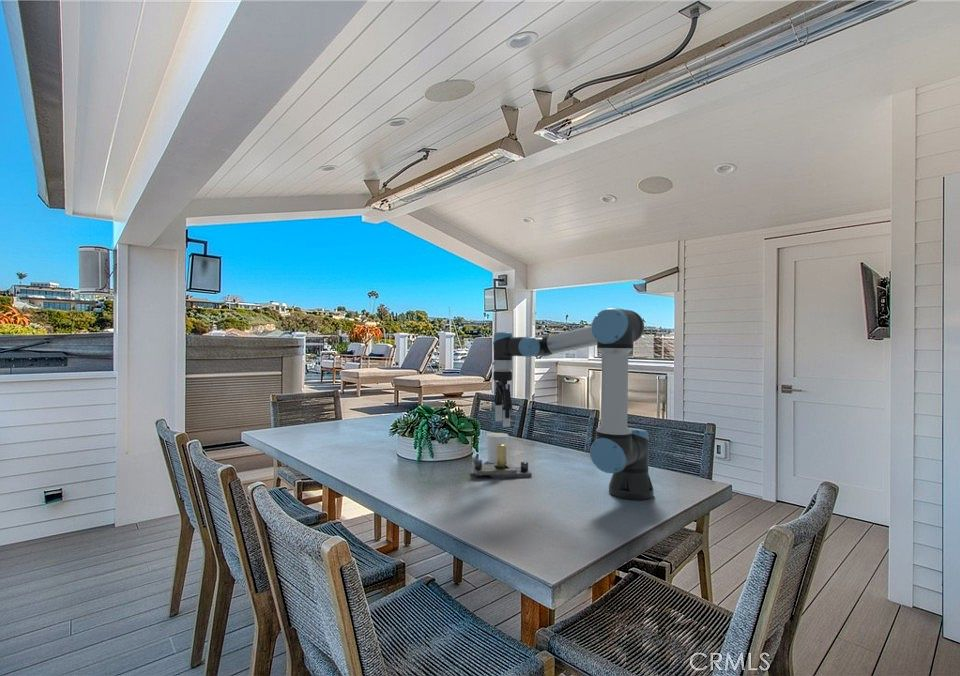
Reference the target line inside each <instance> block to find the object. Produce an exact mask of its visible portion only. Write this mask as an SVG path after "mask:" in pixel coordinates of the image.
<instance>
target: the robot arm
mask: <svg viewBox="0 0 960 676" xmlns="http://www.w3.org/2000/svg"><path fill="white" fill-rule="evenodd" d="M644 330H645V323H644V320H643V318H642V316H641V315H639V313H638V312H635V311H633V310H629V309H624V308H619V307H618V308H617V307H612V308H611V307H609V308H605V309H602V310H600V311H599V312H598V313H597V314H596V315H595V316H594V318H593V319H592V323H591V325H589V326H585V327H580V328H576V329H572V330H567V331H562V332H559V333H555V334H554V333H553V334H550V335H546V336H545V335H544V336H541V337H534V336H522V337H521V336H516V337H515V336H513V333H512V332H507V331H504V332H503V331H502V332H501V331H499V332H495V333H494V334H493V342H492V345H493V362H492V363H491V364H492V366H493V378H492V379H493V381H495V391H494V400H493V403H494V405H495V409H494V410H495V415H494V416H495V417H494V418H495V422H502V427H503V428H507V427H508V428H509V427H511V409H512V408H513V405H512V404H513V403H512V396H511V395H512V394H511V384H510V383H508V382H511V381H512V380H513V372H512V370H513V357H526V358H529V357H548V356H551V355H553V354H558V353H563V352H569V351H573V350H574V351H575V350H578V349H582V348H587V347H594V346H597V347H596V348H597V350H598V351H599V352H600V354H601V378H600V380H601V386H600V387H601V388H600V390H601V391H600V393H601V394H600V395H601V396H600V398H601V399H600V425H599V426H598V427H597V428H596V429H595V440H594V441H593V443H592V444H591V445H590V447H589V456H590V459H591V462H592V463H593V464H594V465H595V467H596V468H597V469H598V470H600V471H601V472H603V473H605V474H606V473H607V474H612V475H611V478H610V482H609V484H608V492H609V494H611V495H612V496H614V497H617V498H621V499H625V500H632V501H633V500H636V501H640V500H641V501H642V500H650V499H652V498H653V497H654V496H655V495H654V486H653V483H652V480H651V477H650V474H649V466H650V465H649V461H650V459H649V457H650V455H649V453H650V438H649V432H648V431H647V430H645V429H641V428H635V427H634V428H633V427H628V415H629V413H628V411H629V410H628V408H629V407H628V405H629V404H628V401H629V399H628V398H629V394H628V393H629V354H630V353H631V352H632V351H634V342H637V341H638V340H639V339H641V337H642V335H643V334H644Z"/></svg>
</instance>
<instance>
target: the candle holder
mask: <svg viewBox="0 0 960 676" xmlns="http://www.w3.org/2000/svg"><path fill="white" fill-rule="evenodd" d="M497 444H506V445H507V450H508V448H509V447H508V446H509V445H508V444H509V434H508V433H506V432H490V433H489V432H488V433H486V450H487V462H488V463H489V464H497Z"/></svg>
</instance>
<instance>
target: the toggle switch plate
mask: <svg viewBox="0 0 960 676" xmlns="http://www.w3.org/2000/svg"><path fill="white" fill-rule="evenodd" d="M471 468H472V470H473V472H474V474H475V475H476V476H489V477H490V478H491V479H492V480H493V479H494V480H496V479H497V480H498V479H519V478H520V479H521V478H532V475H533V474H532V472H531V471H530V470H529V462H528V461H521V462H520V466H514V465H512V463H507V469H497V464H493V463H489V464H483V459H474V464H472V465H471Z"/></svg>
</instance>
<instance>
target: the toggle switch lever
mask: <svg viewBox="0 0 960 676" xmlns="http://www.w3.org/2000/svg"><path fill="white" fill-rule="evenodd" d="M507 461H508V449H507V445H506V444H497V469H507V464H508V463H507Z"/></svg>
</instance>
